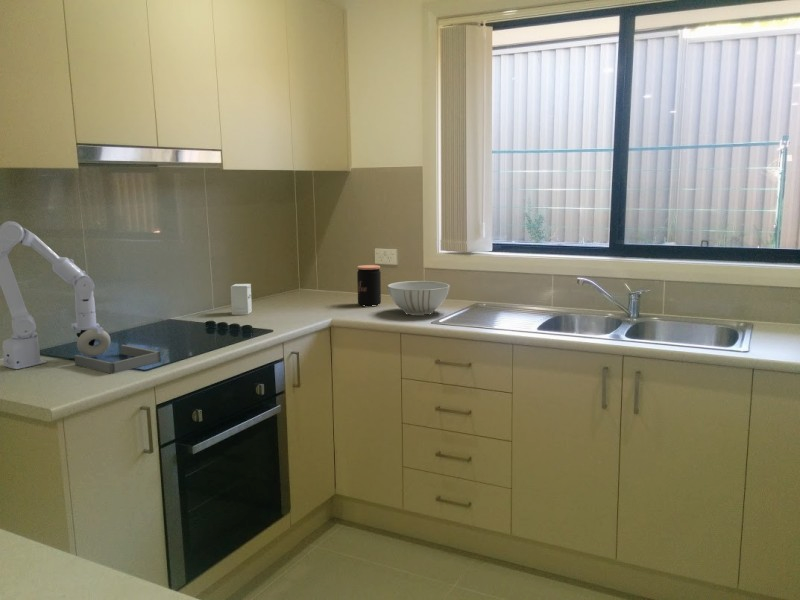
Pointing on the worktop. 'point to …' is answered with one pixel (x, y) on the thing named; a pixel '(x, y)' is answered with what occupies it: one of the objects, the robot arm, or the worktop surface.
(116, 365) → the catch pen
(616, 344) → the worktop surface
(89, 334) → the donut
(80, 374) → the worktop surface
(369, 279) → the coffee jar
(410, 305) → the decorative bowl
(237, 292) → the supplement box
